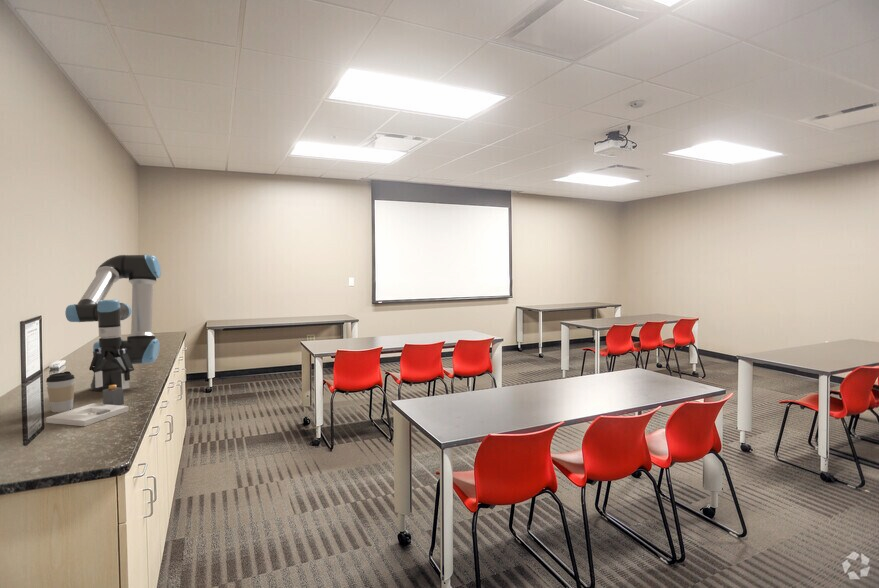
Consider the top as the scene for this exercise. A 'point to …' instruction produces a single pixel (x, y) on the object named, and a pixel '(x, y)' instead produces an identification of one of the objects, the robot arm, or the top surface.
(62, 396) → the coffee cup
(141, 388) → the top surface
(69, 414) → the socket plate
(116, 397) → the plug
